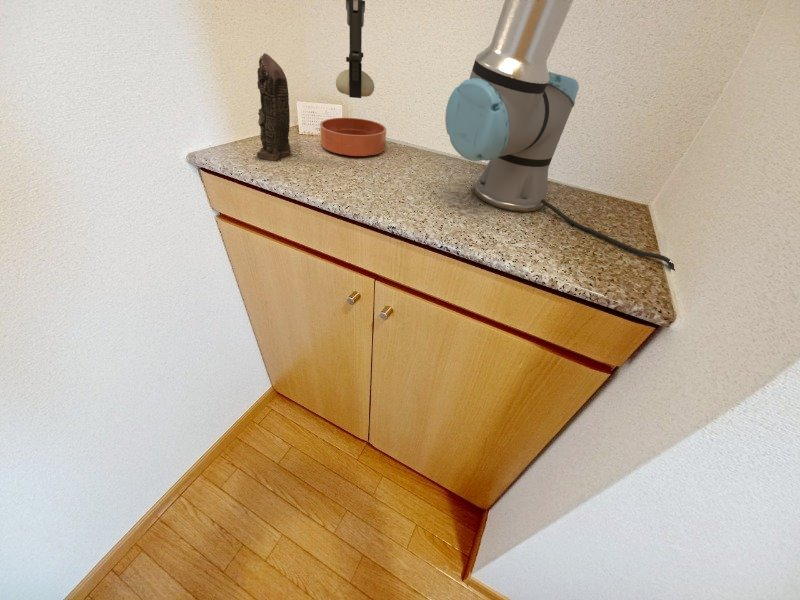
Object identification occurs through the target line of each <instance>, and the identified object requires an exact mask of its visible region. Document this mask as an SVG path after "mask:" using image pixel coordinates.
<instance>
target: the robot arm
mask: <svg viewBox="0 0 800 600" xmlns="http://www.w3.org/2000/svg"><path fill="white" fill-rule="evenodd" d="M573 3H574V0H504V2H503V5H502V8H501V10H500V14H499V17H498V20H497V23H496V27H495V29H494V33H493V36H492V39H491V42H490V43H489V45H488V47H487V48H485V49H484V50H482V51H480V52H479V53H478V54H476V56H475V59H474V63H473V65H472V69H471V72H470V76H469V78H468V79H464V80H463V81H462V82H461V83H459V85H458V86H456V87H455V88H454V89H453V90H452V92H451V94H450V96H449V98H448V99H447V104H446V108H445V116H444V117H445V121H444V122H445V129H446V133H447V135H448V136H449V142H450V144H451V146H452V147H453V149H454V150H455V151H456V152H457V154H458V155H460V156H461V157H462V158H463V159H466V160H469V161H471V162H472V161H473V162H480V161H485V162H486V161H488V162H487V164H486V166H485V167H484V169H483V171H482V172H481V174H480V176H479V177H478V179H477V182H476V184H475V188H474V193H475V195H476V196H477V197H478V198H479V199H480V200H481V201H483V202H485V203H487V204H488V205H490V206H492V207H496V208H499V209H502V210H506V211H511V212H525V213H528V212H534V211H539V210H540V209H542V208H543V207H544V206H545V207H546V208H548V209H550V210H551V211H552V212H554V213H555V214H556V215H558V216H559V217H560V218H561V219H563V220H564V221H566V222H567V223H569V224H571V225H573V226H574V227H576V228H578V229H580V230H583V231H584V232H587V233H589V234H591V235H594V236H596V237H599V238H601V239H603V240H605V241H607V242H608V243H611V244H614V245H615V246H618V247H620V248H622V249H625V250H627V251H629V252H632V253H634V254H637V255H639V256H644V257H648V258H654V259H658V260H661V261H662V262H665V263H666V264H667V265H668V266H669V268H670V269H671V270H673V271H674V272H676V271H675V269H674V264H675V263H674V262H673V263H674V264H673V263H671V262H669V261H670V260H671V258H669V257H667V256H665V255H662V254H658V253H654V252H649V251H644V250H641V249H637V248H635V247H633V246H631V245H629V244H626V243H623V242H621V241H620V240H617V239H615V238H612V237H610V236H609V235H606V234H603V233H602V232H599V231H597V230H595V229H593V228H590V227H588V226H585V225H583V224H581V223H579V222H577V221H575V220H574V219H571V218H570V217H568V216H567V215H566V214H565V213H563V212H561V211H560V210H559V209H557V208H556V207H555V206H553V205H552V204H551V203H550V202H548V201H546V199H547V195H548V178H549V168H550V164H551V162H552V160H553V157H554V155H555V152H556V150H557V147H558V145H559V142H560V140H561V137H562V135H563V132H564V130H565V127H566V125H567V122H568V119H569V117H570V115H571V112H572V109H573V108H574V107H575V105H576V98H577V95H578V92H579V89H580V85H579V82H578V81H577V80H576V79H575V78H573V77H570V76H566V75H563V74H558V73H555V72H551V71H549V70H548V67H547V63H548V59H549V57H550V54H551V52H552V50H553V47H554V45H555V43H556V41H557V39H558V36H559V34H560V32H561V29H562V27H563V26H564V23H565V20H566V19H567V16H568V13H569V11H570V9H571V6H572V4H573ZM345 10H346V21H347V22H346V24H347V26H349V54H348V56H345V62H346V63H348V69H349V95H348V97H349V98H354V99H362V97H361V78H362V71H363V70H362V69H363V65H362V62H363V58H364V52H362V43H363V42H362V40H363V39H362V35H363V33H362V30H363V29H362V28H363V27H364V22H365V12H366V0H345Z"/></svg>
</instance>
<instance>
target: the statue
mask: <svg viewBox="0 0 800 600" xmlns="http://www.w3.org/2000/svg"><path fill="white" fill-rule="evenodd" d="M257 89H258V90H259V95H260V106H261V107H260V108H259V109H258V112H257V114H258V117H259V118H258V126H259V127H260V135H259V139H260V141H261V145H262V147H261V148H260V150H259V151H256V157H257V158H258V159H263V160H267V161H273V162H277V161H279V160H280V159H281V158H286V157H289V156H290V155H291V154H292V149H291V146H290V140H289V135H290V122H291V119H290V117H291V115H290V97H289V86H288V79H287V77H286V74H285V71H284V70H283V68H282V67H281V66H280V65H279V64H278V62H277V61H276V60H275V59H273V58H272V56H270V55H269V54H268V53H266V52H264V53H263V54H262V55H260V57H259V59H258V68H257Z"/></svg>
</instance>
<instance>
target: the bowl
mask: <svg viewBox="0 0 800 600" xmlns="http://www.w3.org/2000/svg"><path fill="white" fill-rule="evenodd" d="M319 135H320V144H321V147H322V148H324V149H325V150H327V151H328V152H331V153H334V154H337V155H341V156H347V157H368V156H374V155H378V154H381V153H382V152H384V151H385V150H386V146H387V145H386V143H387V128H386V126H385V125H383V124H381V123H379V122H377V121H373V120H370V119H364V118H357V117H334V118H333V117H332V118H327V119H325V120H321V122H320V123H319Z"/></svg>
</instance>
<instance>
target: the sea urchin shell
mask: <svg viewBox="0 0 800 600" xmlns="http://www.w3.org/2000/svg"><path fill="white" fill-rule="evenodd" d="M335 87H336V90H337V91H338V92H339V93H340V94H344V95H346V96H349V68H348V69H345V70H342V71H341V72H340V73H338V75H337V76H336V79H335ZM374 91H375V82H374V80H373V79H372V77H371V76H370V75H369V74H368V73H366V72H365V71H363V70H362V78H361V98H364V97H365V98H368V97H370V96H372V95H373V93H374Z"/></svg>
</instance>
